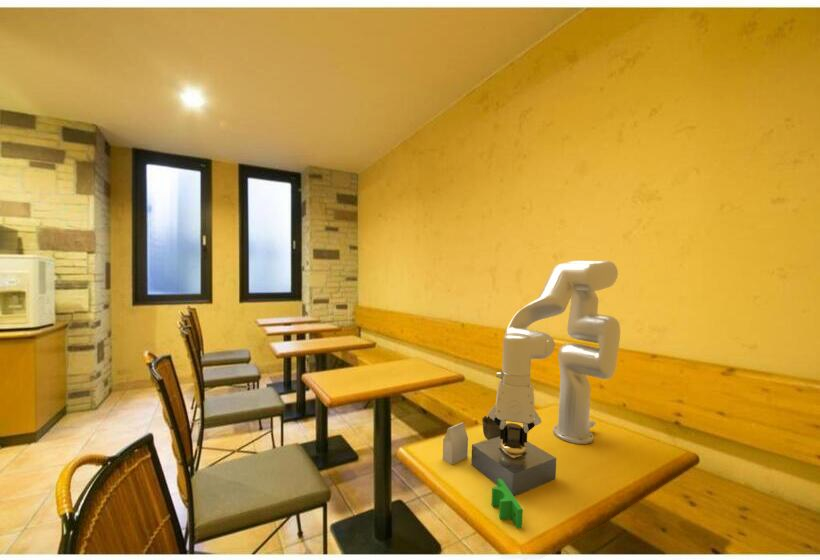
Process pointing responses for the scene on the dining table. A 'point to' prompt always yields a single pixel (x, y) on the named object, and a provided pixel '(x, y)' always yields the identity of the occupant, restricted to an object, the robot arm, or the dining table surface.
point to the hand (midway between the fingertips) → (513, 442)
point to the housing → (514, 465)
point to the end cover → (513, 441)
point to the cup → (490, 428)
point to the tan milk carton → (455, 444)
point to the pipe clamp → (506, 504)
